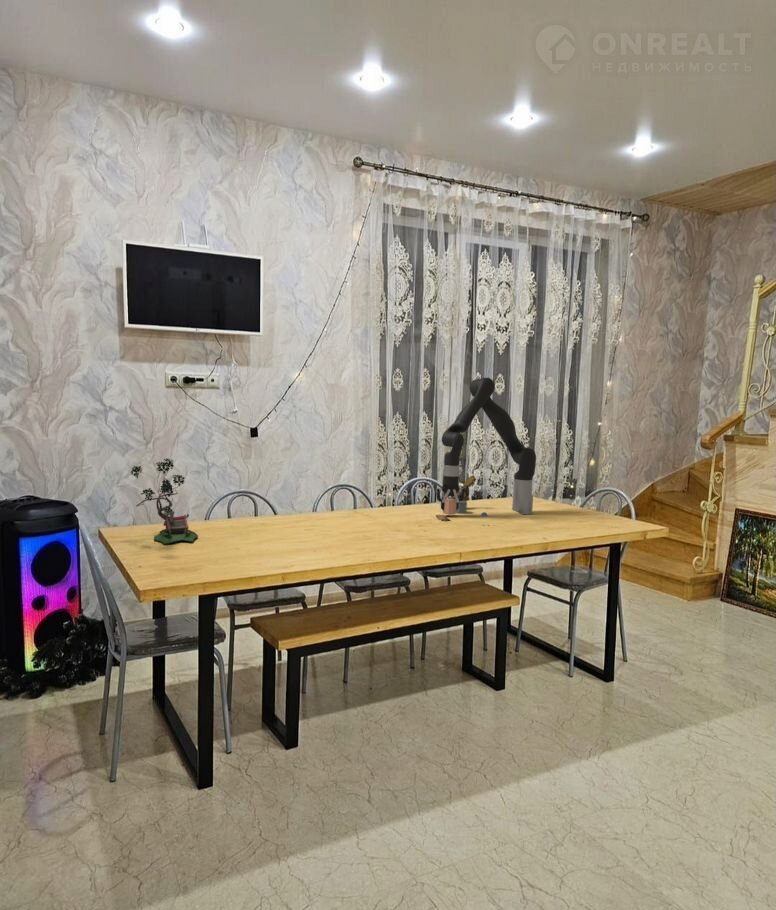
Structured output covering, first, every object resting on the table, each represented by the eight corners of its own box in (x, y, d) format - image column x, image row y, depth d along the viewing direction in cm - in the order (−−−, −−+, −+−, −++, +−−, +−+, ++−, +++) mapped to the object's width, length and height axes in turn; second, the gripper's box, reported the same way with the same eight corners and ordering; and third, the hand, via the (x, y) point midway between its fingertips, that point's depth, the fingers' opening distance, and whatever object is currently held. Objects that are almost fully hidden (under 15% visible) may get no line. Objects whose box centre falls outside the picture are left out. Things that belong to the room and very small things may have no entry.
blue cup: (463, 514, 347) (464, 500, 346) (467, 516, 341) (468, 502, 340) (452, 514, 345) (452, 500, 345) (455, 516, 340) (456, 502, 339)
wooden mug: (477, 512, 354) (479, 476, 352) (454, 513, 348) (456, 477, 346) (467, 508, 362) (469, 474, 360) (444, 510, 355) (446, 474, 353)
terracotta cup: (453, 512, 336) (454, 497, 335) (457, 514, 330) (458, 499, 329) (441, 512, 335) (442, 497, 334) (444, 514, 329) (445, 499, 328)
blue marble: (486, 517, 340) (486, 511, 340) (488, 519, 337) (488, 512, 337) (480, 517, 339) (480, 511, 339) (482, 519, 336) (482, 512, 336)
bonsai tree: (127, 534, 278) (127, 454, 275) (190, 530, 290) (190, 453, 287) (142, 555, 248) (142, 466, 244) (212, 549, 260) (213, 464, 256)
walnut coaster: (456, 517, 339) (456, 514, 338) (462, 521, 329) (462, 518, 329) (435, 517, 337) (436, 514, 337) (441, 521, 327) (441, 518, 327)
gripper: (463, 473, 336) (461, 508, 337) (434, 473, 333) (432, 508, 335) (468, 475, 328) (466, 511, 330) (438, 475, 325) (436, 511, 327)
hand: (449, 510), depth 332 cm, fingers closed on terracotta cup, 5 cm apart
